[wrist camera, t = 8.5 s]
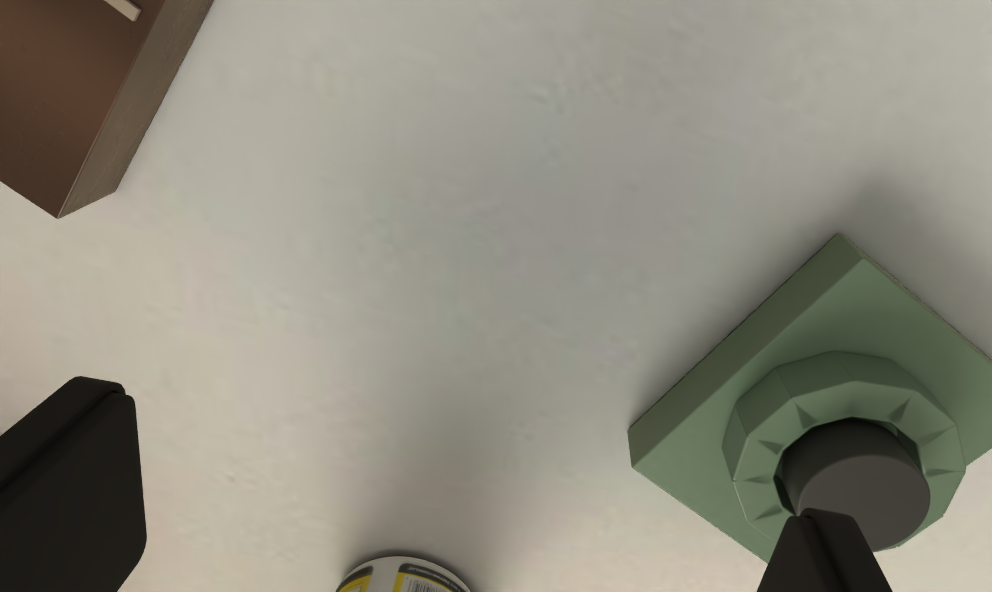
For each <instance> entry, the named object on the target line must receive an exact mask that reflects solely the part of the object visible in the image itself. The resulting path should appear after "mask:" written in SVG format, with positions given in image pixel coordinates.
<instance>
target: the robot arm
mask: <svg viewBox="0 0 992 592" xmlns="http://www.w3.org/2000/svg"><path fill="white" fill-rule="evenodd" d="M146 540H147V533H146V522H145V511H144V499H143V488H142V476H141V465H140V454H139V442H138V431H137V419H136V408H135V402H134V399H133V398H132V397H131V396H129V395H126V393H125V389H124V388H123V386H122V385H121V384H119V383H116V382H110V381H105V380H99V379H94V378H88V377H83V376H79V377H74V378H73V379H71V380H69V381H68V382H67V383H65V384H64V385H63V386H62V387H60V388H59V389H58V390H57V391H56V392H54V393H53V394H52V395H51V396H49V397H48V398H47V399H46V400H44V401H43V402H42V403H41V404H39V405H38V406H37V407H36V408H34V409H33V410H32V411H31V412H30V413H28V414H27V415H26V416H25V417H23V418H22V419H21V420H20V421H18V422H17V423H16V424H15V425H13V426H12V427H11V428H10V429H8V430H7V431H6V432H5V433H4V434H2V435H1V436H0V592H117V591H118V590H119V588H120V587H121V586H122V584H123V583H124V581H125V580H126V579H127V577H128V576H129V575H130V573H131V572H132V571H133V569H134V568H135V567H136V565H137V564H138V562H139V560H140V559H141V557H142V554H143V552H144V549H145V545H146ZM757 592H892V590H891V588H890V586H889V584H888V582H887V580H886V578H885V576H884V574H883V572H882V570H881V568H880V566H879V564H878V562H877V561H876V559H875V557H874V555H873V553H872V551H871V549H870V547H869V545H868V543H867V541H866V539H865V537H864V535H863V533H862V532H861V530H860V528H859V526H858V524H857V522H856V521H855V519H854V518H853V517H852V516H850V515H848V514H843V513H837V512H832V511H826V510H821V509H815V508H805V509H804V510H803V511H802V512H801V514H800V515H799V516H794V515H793V516H790V517H789V518H788V519H787V521H786V522H785V525H784V527H783V530H782V532H781V534H780V537H779V539H778V542H777V544H776V546H775V549H774V551H773V554H772V556H771V558H770V561H769V563H768V566H767V568H766V570H765V573H764V575H763V578H762V580H761V582H760V585H759V587H758V590H757Z"/></svg>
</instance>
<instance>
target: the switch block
mask: <svg viewBox="0 0 992 592" xmlns="http://www.w3.org/2000/svg"><path fill="white" fill-rule="evenodd" d="M838 420H863V421H868V422H872V423H874V424H877V425H880V426H882V427H884V428H886V429H887V430H889V431H890V432H891V433H893V434H894V435H895V436H896V437H897V438H898V440H899V441H900V442H901V444H902V445H903V447H904V448H905V449H906V451H907V452H908V454H909V455H910V457H911V458H912V460H913V461H914V462H915V464H916V465H917V467H918V468H919V470H920V471H921V472H922V474H923V475H924V477H925V479H926V481H927V482H928V485H929V488H930V495H931V498H930V507H929V510H928V513H927V515H926V517H925V519H924V521H923V522H922V524H921V525H920V526H919V527H918V529H917V530H915V531H914V532H913V533H912V534H911V535H910V536H909V537H907V538H906V539H904V540H903V541H901V542H899V543H897V544H895V545H893V546H891V547H888V548H885V549H882V550H887V549H892V548H896V547H899V546H901V545H902V544H904V543H905V542H906V541H908V540H909V539H911V538H912V537H914V536H915V535H917V534H918V533H920V532H921V531H922V530H924V529H925V528H927V527H928V526H930V525H931V524H933V523H934V522H936V521H937V520H938V519H940V518H941V517H943V514H944V513H945V512H946V510H947V508H948V506H949V504H950V502H951V500H952V498H953V496H954V494H955V492H956V490H957V488H958V486H959V484H960V482H961V480H962V478H963V476H964V474H965V470H966V466H967V465H969V464H970V463H971V462H973V461H974V460H976V459H977V458H979V457H980V456H981V455H983V454H984V453H986V452H987V451H988V450H990V449H991V448H992V360H991V359H990V358H988V357H987V356H986V355H985V354H984V353H982V352H981V351H980V350H979V349H978V348H976V347H975V346H974V345H973V344H972V343H971V342H969V341H968V340H967V339H966V338H965V337H963V336H962V335H961V334H960V333H959V332H958V331H956V330H955V329H954V328H953V327H952V326H950V325H949V324H948V323H947V322H946V321H944V320H943V319H942V318H941V317H940V316H939V315H937V314H936V313H935V312H934V311H933V310H931V309H930V308H929V307H928V306H927V305H925V304H924V303H923V302H922V301H921V300H920V299H918V298H917V297H916V296H915V295H914V294H912V293H911V292H910V291H909V290H908V289H907V288H905V287H904V286H903V285H902V284H901V283H899V282H898V281H897V280H896V279H895V278H893V277H892V276H891V275H890V274H889V273H888V272H886V271H885V270H884V269H883V268H882V267H880V266H879V265H878V264H877V263H876V262H874V261H873V260H872V259H871V258H870V257H869V256H867V255H866V254H865V253H864V252H863V251H861V250H860V249H859V248H858V247H857V246H856V245H854V244H853V243H852V242H851V241H850V240H848V239H847V238H846V237H845V236H844V235H842V234H841V233H838V234H837V235H836V236H835V237H834V238H833V239H832V240H831V241H829V242H828V243H827V244H826V245H825V246H824V247H823V248H822V249H821V250H820V251H819V252H818V253H817V254H816V255H814V256H813V257H812V258H811V259H810V260H809V261H808V262H807V263H806V264H805V265H804V266H803V267H802V268H801V269H800V270H798V271H797V272H796V273H795V274H794V275H793V276H792V277H791V278H790V279H789V280H788V281H787V282H786V283H785V284H783V285H782V286H781V287H780V288H779V289H778V290H777V291H776V292H775V293H774V294H773V295H772V296H771V297H770V298H769V299H767V300H766V301H765V302H764V303H763V304H762V305H761V306H760V307H759V308H758V309H757V310H756V311H755V312H754V313H752V314H751V315H750V316H749V317H748V318H747V319H746V320H745V321H744V322H743V323H742V324H741V325H740V326H739V327H738V328H736V329H735V330H734V331H733V332H732V333H731V334H730V335H729V336H728V337H727V338H726V339H725V340H724V341H723V342H721V343H720V344H719V345H718V346H717V347H716V348H715V349H714V350H713V351H712V352H711V353H710V354H709V355H708V356H707V357H705V358H704V359H703V360H702V361H701V362H700V363H699V364H698V365H697V366H696V367H695V368H694V369H693V370H692V371H690V372H689V373H688V374H687V375H686V376H685V377H684V378H683V379H682V380H681V381H680V382H679V383H678V384H677V385H676V386H674V387H673V388H672V389H671V390H670V391H669V392H668V393H667V394H666V395H665V396H664V397H663V398H662V399H661V400H659V401H658V402H657V403H656V404H655V405H654V406H653V407H652V408H651V409H650V410H649V411H648V412H647V413H646V414H645V415H643V416H642V417H641V418H640V419H639V420H638V421H637V422H636V423H635V424H634V425H633V426H632V427H631V428H630V429H628V431H627V432H628V440H629V449H630V457H631V466H632V468H633V469H635V470H636V471H638V472H639V473H640V474H642V475H643V476H645V477H646V478H647V479H649V480H650V481H652V482H653V483H654V484H656V485H657V486H659V487H660V488H662V489H663V490H664V491H666V492H667V493H669V494H670V495H671V496H673V497H674V498H676V499H677V500H679V501H680V502H681V503H683V504H684V505H686V506H687V507H688V508H690V509H691V510H693V511H694V512H695V513H697V514H698V515H700V516H701V517H703V518H704V519H705V520H707V521H708V522H710V523H711V524H712V525H714V526H715V527H717V528H718V529H720V530H721V531H722V532H724V533H725V534H727V535H728V536H729V537H731V538H732V539H734V540H735V541H736V542H738V543H739V544H741V545H742V546H744V547H745V548H746V549H748V550H749V551H751V552H752V553H753V554H755V555H756V556H758V557H759V558H760V559H762V560H763V561H765V562H766V563H769V561H770V558H771V556H772V554H773V551H774V549H775V546H776V544H777V542H778V539H779V537H780V534H781V532H782V530H783V527H784V525H785V522H786V521H787V519H788V518H789V517H790V516H793V515H794V516H797V515H796V513H795V510H794V508H793V506H792V503H791V501H790V498H789V496H788V493H787V491H786V488H785V486H784V483H783V479H782V467H783V463H784V459H785V457H786V455H787V452H788V451H789V449H790V448H791V446H792V445H793V444H794V443H795V442H796V441H797V440H798V439H799V438H800V437H801V436H802V435H804V434H805V433H807V432H808V431H810V430H812V429H813V428H815V427H818V426H820V425H822V424H826V423H829V422H833V421H838ZM882 550H878V551H882ZM878 551H874V552H878ZM872 553H873V552H872Z"/></svg>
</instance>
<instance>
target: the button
mask: <svg viewBox="0 0 992 592" xmlns="http://www.w3.org/2000/svg"><path fill="white" fill-rule="evenodd" d="M782 479H783V483H784V486H785V488H786V491H787V493H788V496H789V498H790V501H791V503H792V506H793V508H794V510H795V513H796V515H797V516H799V515H800V514H801V512H802V511H803V510H804V509H805V508H815V509H821V510H826V511H832V512H837V513H843V514H848V515H850V516H852V517H853V518H854V519H855V521H856V522H857V524H858V526H859V528H860V530H861V532H862V533H863V535H864V537H865V539H866V541H867V543H868V545H869V547H870V549H871V551H872V552H874V551H878V550H882V549H885V548H888V547H891V546H893V545H895V544H897V543H899V542H901V541H903V540H904V539H906V538H907V537H909V536H910V535H911V534H912V533H913V532H914V531H915V530H917V529H918V527H919V526H920V525H921V524H922V522H923V521H924V519H925V517H926V515H927V513H928V510H929V507H930V498H931V495H930V488H929V485H928V482H927V481H926V479H925V477H924V475H923V474H922V472H921V471H920V470H919V468H918V467H917V465H916V464H915V462H914V461H913V460H912V458H911V457H910V455H909V454H908V452H907V451H906V449H905V448H904V447H903V445H902V444H901V442H900V441H899V440H898V438H897V437H896V436H895V435H894V434H893V433H891V432H890V431H889V430H887V429H886V428H884V427H882V426H880V425H877V424H874V423H872V422H868V421H863V420H838V421H833V422H829V423H826V424H822V425H820V426H818V427H815V428H813V429H812V430H810V431H808V432H807V433H805V434H804V435H802V436H801V437H800V438H799V439H798V440H797V441H796V442H795V443H794V444H793V445H792V446H791V448H790V449H789V451H788V452H787V455H786V457H785V459H784V463H783V467H782Z"/></svg>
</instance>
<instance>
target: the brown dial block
mask: <svg viewBox="0 0 992 592" xmlns="http://www.w3.org/2000/svg"><path fill="white" fill-rule="evenodd" d="M213 1H214V0H0V181H1V182H2V183H4V184H5V185H7V186H8V187H10V188H11V189H13V190H14V191H16V192H17V193H19V194H20V195H22V196H23V197H25V198H26V199H28V200H29V201H31V202H32V203H34V204H35V205H37V206H38V207H40V208H41V209H43V210H45V211H46V212H48V213H49V214H51V215H52V216H54V217H55V218H57V219H59V218H61V217H63V216H66V215H68V214H70V213H72V212H74V211H76V210H78V209H80V208H82V207H84V206H86V205H89V204H91V203H93V202H95V201H97V200H99V199H101V198H103V197H105V196H107V195H109V194H112V193H114V192H115V191H116V189H117V187H118V185H119V183H120V181H121V179H122V177H123V175H124V173H125V171H126V169H127V168H128V166H129V164H130V162H131V160H132V158H133V156H134V154H135V152H136V150H137V148H138V146H139V144H140V142H141V140H142V138H143V137H144V135H145V133H146V131H147V129H148V127H149V125H150V123H151V121H152V119H153V117H154V115H155V113H156V111H157V109H158V107H159V106H160V104H161V102H162V100H163V98H164V96H165V94H166V92H167V90H168V88H169V86H170V84H171V82H172V80H173V78H174V77H175V75H176V73H177V71H178V69H179V67H180V65H181V63H182V61H183V59H184V57H185V55H186V53H187V51H188V49H189V47H190V46H191V44H192V42H193V40H194V38H195V36H196V34H197V32H198V30H199V28H200V26H201V24H202V22H203V20H204V18H205V16H206V15H207V13H208V11H209V9H210V7H211V5H212V3H213Z"/></svg>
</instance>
